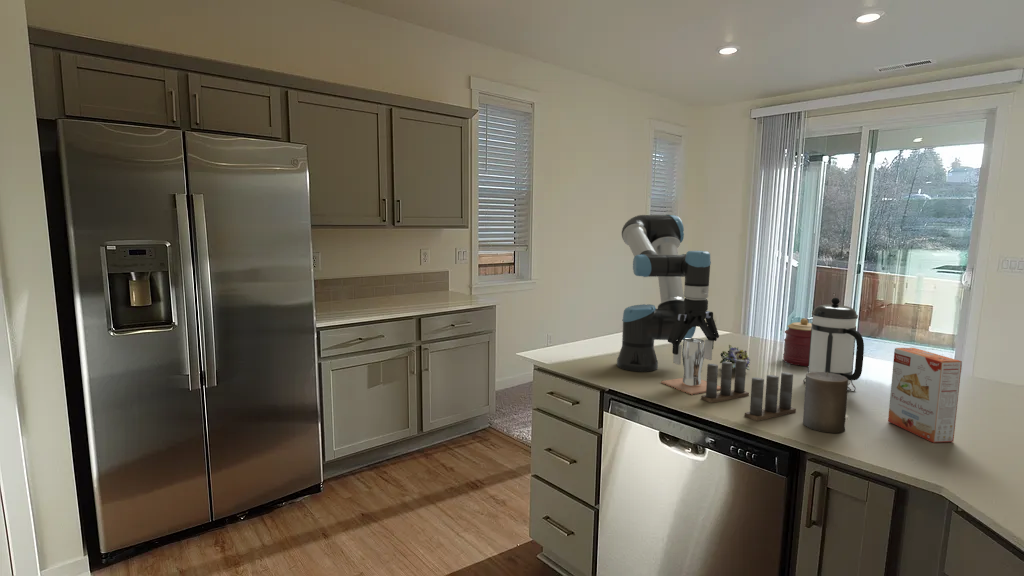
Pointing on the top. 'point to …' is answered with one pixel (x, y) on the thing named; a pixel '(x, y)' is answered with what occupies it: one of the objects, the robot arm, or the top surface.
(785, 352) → the canister
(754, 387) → the rack
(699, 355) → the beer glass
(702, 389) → the tile pad
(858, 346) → the coffee press
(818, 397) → the pillar candle
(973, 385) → the top surface
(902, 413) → the cracker box
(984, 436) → the top surface
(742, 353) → the passion flower
